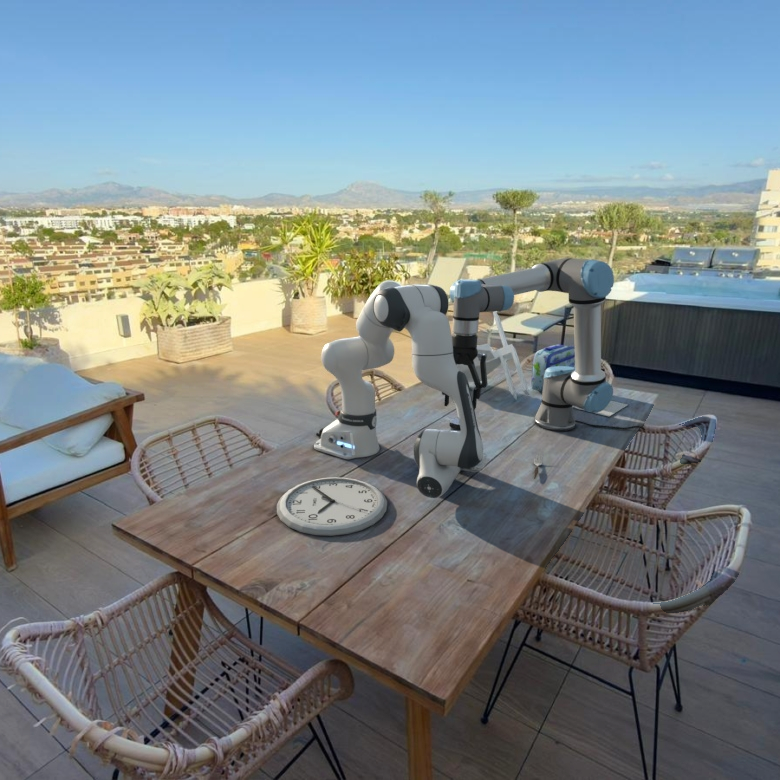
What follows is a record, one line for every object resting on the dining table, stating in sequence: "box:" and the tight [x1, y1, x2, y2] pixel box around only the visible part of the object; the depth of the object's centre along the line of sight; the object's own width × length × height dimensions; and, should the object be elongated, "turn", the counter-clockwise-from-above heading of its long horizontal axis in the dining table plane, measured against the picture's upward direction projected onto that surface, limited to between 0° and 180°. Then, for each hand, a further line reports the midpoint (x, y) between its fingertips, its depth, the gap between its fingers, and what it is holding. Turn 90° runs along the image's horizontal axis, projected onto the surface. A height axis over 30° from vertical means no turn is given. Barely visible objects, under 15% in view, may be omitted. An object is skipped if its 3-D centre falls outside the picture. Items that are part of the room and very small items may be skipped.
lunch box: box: [530, 344, 575, 392], centre depth 247 cm, size 26×11×21 cm, turn 134°
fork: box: [533, 454, 544, 480], centre depth 165 cm, size 3×16×2 cm, turn 160°
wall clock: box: [276, 476, 388, 537], centre depth 142 cm, size 30×2×30 cm
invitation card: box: [573, 400, 629, 418], centre depth 226 cm, size 21×1×15 cm
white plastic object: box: [457, 311, 531, 400], centre depth 245 cm, size 37×45×31 cm
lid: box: [449, 417, 461, 430], centre depth 162 cm, size 6×6×2 cm
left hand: (458, 447), depth 165 cm, fingers closed on jar, 5 cm apart
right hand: (460, 406), depth 160 cm, fingers open, 8 cm apart
